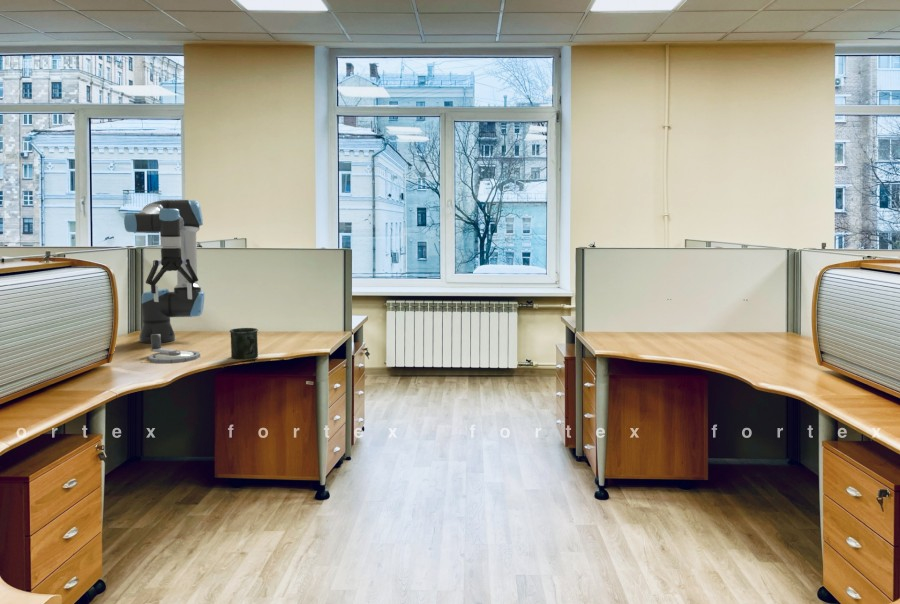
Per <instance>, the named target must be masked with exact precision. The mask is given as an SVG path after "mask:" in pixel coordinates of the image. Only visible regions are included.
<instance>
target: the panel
mask: <svg viewBox="0 0 900 604" xmlns="http://www.w3.org/2000/svg"><path fill="white" fill-rule="evenodd" d="M187 351H188V352H193V353H194V356H191V357H186V358H178V359H157V358H155V355H157V354H160V352H154V353H152V354H150V355H148V360H147V361H141V362H140V364H144V363H145V364H146V363H151V362H152V363H156V364H157V363H158V364H173V363H174V364H175V363H184V362H189V361H194V360H198V359H199V358H201V353H200V352H199V351H195V350H187Z"/></svg>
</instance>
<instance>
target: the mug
mask: <svg viewBox="0 0 900 604" xmlns="http://www.w3.org/2000/svg"><path fill="white" fill-rule="evenodd" d="M258 331H259V329H258V328H255V327H254V328H253V327H238V328H237V327H236V328H233V329H232V328H231V329H230V330H229V331H228V332H229V333H230V351H231V352H230V353H231V354H230V355H231V359H233V360H238V361H239V360H240V361H241V363H245V362H246V363H248V362H254V361H257V360H258V359H259V349H258V345H259V343H258ZM242 360H243V361H242Z"/></svg>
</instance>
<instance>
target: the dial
mask: <svg viewBox="0 0 900 604" xmlns="http://www.w3.org/2000/svg"><path fill="white" fill-rule="evenodd" d="M150 344H151V348H150V352H154V353H160V354H157V355H155V358H157V359H178V358H186V357H191V356H194V353H193V352H188V351H189V350H177V349H170V348H164V347H163V348H162V343H161V334H151V343H150Z"/></svg>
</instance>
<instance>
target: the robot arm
mask: <svg viewBox="0 0 900 604" xmlns="http://www.w3.org/2000/svg"><path fill="white" fill-rule="evenodd" d="M123 220H124V223H123V224H124V229H125V231H126V232H127V233H159V234H160V235H159V236H160V237H159V238H160V239H159V240H160V247H161V249H160V258H161V259H160V260H158V259H155V260H153V261H152V267H151V269H150V272H149V274H148V276H147V278H146V279H145V284H147V285H149V286H150V290H149V291H145V292H143V293H142V295H141V303H140V304H141V311H142V312H141V313H142V315H141V316H142V326H141V330H140V333H139V338H138V339H139V342H140V343H143V344H151V334H161V344H162V343H167V342H168V343H169V342H172V341H175V340H176V334H175V332H174V329H173V325H172V324H171V318H189V317H190V318H192V317H193V318H195V317H200V316H201V315H202V313H203V312H204V311H203V310H204V305H205V292H204V291H203V290H202V287H201V286H200V285H199V284H198V281H199V278H198V262H197V260H198V259H197V257H198V255H197V254H198V253H197V233H198V232H199V231H200V226H203V225H204V222H203V221H204V219H203V213H202V209H201V205H200V203H199V201H197V200H193V199H163V200H162V199H161V200H157V201H153V202H150V203H148V204H146V205H145V206H143V208H142V209H141V211H139V212H138V213H126V214H125V215H124V219H123ZM160 265H161V268H160V270H159V271H158V272H157V270H158V268H159V266H160ZM172 271H176V273H177V274H176V278H177V279H176V281H177V283H176V285H175V286H174V287H173V291H170V290H169V288H160V289H159V285H157V284H158V282H159V281H160V280H161V278H162V277H163V276H164V274H165V273H166V272H172ZM156 273H157V274H156Z"/></svg>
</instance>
